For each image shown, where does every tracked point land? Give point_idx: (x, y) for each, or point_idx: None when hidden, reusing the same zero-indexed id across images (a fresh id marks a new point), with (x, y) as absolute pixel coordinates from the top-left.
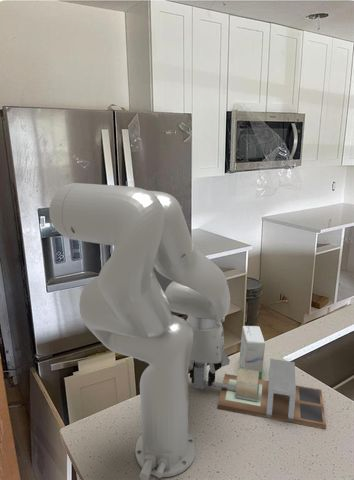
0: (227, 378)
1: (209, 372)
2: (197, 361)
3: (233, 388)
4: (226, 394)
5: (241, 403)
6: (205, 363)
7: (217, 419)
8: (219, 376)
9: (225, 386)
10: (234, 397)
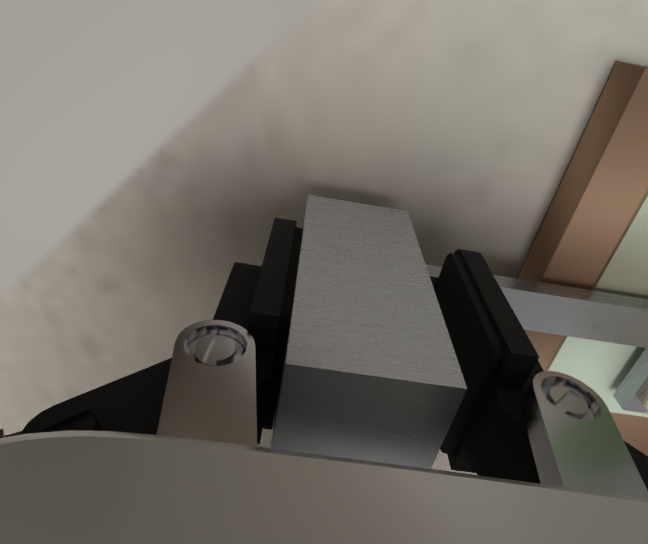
0: (642, 156)
1: (461, 454)
2: (295, 439)
3: (646, 345)
4: (557, 358)
5: (640, 418)
6: (429, 467)
7: (445, 464)
8: (557, 44)
9: (579, 330)
10: (611, 382)
